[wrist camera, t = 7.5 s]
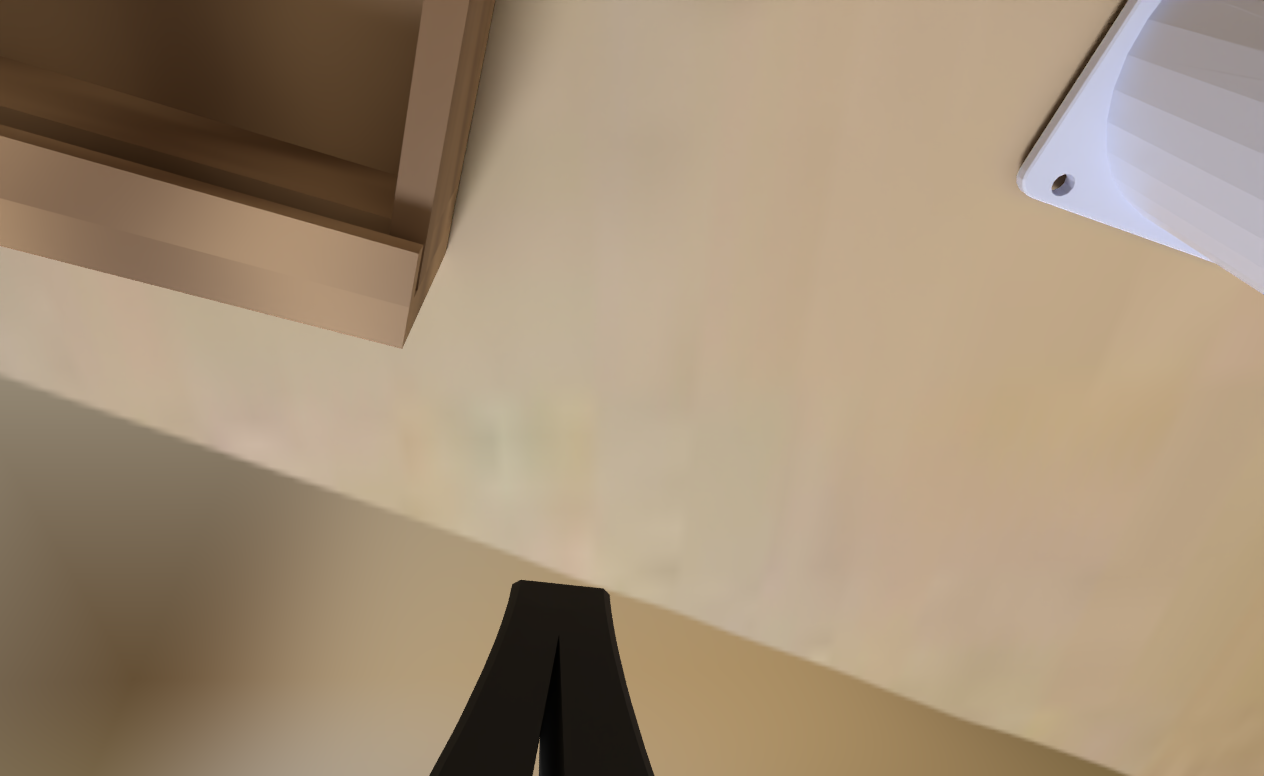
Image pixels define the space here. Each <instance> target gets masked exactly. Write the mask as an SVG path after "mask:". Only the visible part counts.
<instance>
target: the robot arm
mask: <svg viewBox="0 0 1264 776" xmlns="http://www.w3.org/2000/svg"><path fill="white" fill-rule="evenodd" d="M1064 174H1066V176H1067V177H1066V180H1065V182H1064V184H1063V185H1062V186H1061V187H1059V188H1057V189H1055V190H1052V189H1051V187H1052V185H1053V182H1054V181H1055V180H1056V179H1057V178H1058V177H1059V176H1062V175H1064ZM1017 185H1018V187H1019V189H1020V190H1021V191H1022V192H1024V193H1025V194H1026V195H1028V196H1029V197H1031V198H1033V199H1036V200H1039V201H1042V202H1045V203H1048V204H1050V205H1053V206H1056V207H1059V208H1062V209H1064V210H1067V211H1070V212H1073V213H1076V214H1078V215H1081V216H1084V217H1087V218H1090V219H1093V220H1095V221H1098V222H1101V223H1104V224H1107V225H1109V226H1112V227H1115V228H1118V229H1121V230H1123V231H1126V232H1129V233H1132V234H1135V235H1138V236H1140V237H1143V238H1146V239H1149V240H1152V241H1154V242H1157V243H1160V244H1163V245H1166V246H1168V247H1171V248H1174V249H1177V250H1180V251H1183V252H1185V253H1188V254H1191V255H1194V256H1197V257H1199V258H1202V259H1205V260H1208V261H1211V262H1213V263H1216V264H1218V265H1219V266H1221V267H1222V268H1224V269H1225V270H1227V271H1228V272H1230V273H1231V274H1233V275H1234V276H1236V277H1237V278H1239V279H1240V280H1242V281H1244V282H1245V283H1247V284H1248V285H1250V286H1251V287H1253V288H1254V289H1256V290H1257V291H1259V292H1260V293H1262V294H1263V295H1264V0H1128V1H1127V3H1126V5H1125V6H1124V8H1123V9H1122V11H1121V12H1120V14H1119V15H1118V17H1117V18H1116V20H1115V22H1114V23H1113V25H1112V26H1111V28H1110V29H1109V31H1108V32H1107V34H1106V36H1105V37H1104V39H1103V40H1102V42H1101V43H1100V45H1099V46H1098V48H1097V49H1096V51H1095V53H1094V54H1093V56H1092V57H1091V59H1090V60H1089V62H1088V63H1087V65H1086V67H1085V68H1084V70H1083V71H1082V73H1081V74H1080V76H1079V77H1078V79H1077V80H1076V82H1075V84H1074V85H1073V87H1072V88H1071V90H1070V91H1069V93H1068V94H1067V96H1066V97H1065V99H1064V101H1063V102H1062V104H1061V105H1060V107H1059V108H1058V110H1057V111H1056V113H1055V115H1054V116H1053V118H1052V119H1051V121H1050V122H1049V124H1048V125H1047V127H1046V128H1045V130H1044V132H1043V133H1042V135H1041V136H1040V138H1039V139H1038V141H1037V142H1036V144H1035V146H1034V147H1033V149H1032V150H1031V152H1030V153H1029V155H1028V156H1027V158H1026V159H1025V161H1024V163H1023V164H1022V166H1021V167H1020V169H1019V172H1018V174H1017ZM539 739H540V751H539V776H654V773H653V771H652V767H651V765H650V761H649V758H648V755H647V753H646V749H645V746H644V743H643V740H642V736H641V733H640V730H639V726H638V723H637V720H636V716H635V713H634V710H633V706H632V703H631V699H630V696H629V692H628V688H627V685H626V681H625V677H624V672H623V668H622V664H621V660H620V656H619V651H618V646H617V642H616V637H615V631H614V626H613V619H612V613H611V605H610V595H609V594H608V593H607V592H606V591H605V590H604V589H602V588H593V587H583V586H574V585H563V584H555V583H546V582H536V581H526V580H520V581H518V582H516V583H514V584H512V588H511V592H510V597H509V601H508V605H507V608H506V611H505V614H504V617H503V620H502V624H501V626H500V629H499V632H498V634H497V637H496V640H495V642H494V645H493V647H492V649H491V652H490V654H489V657H488V659H487V661H486V664H485V666H484V669H483V671H482V673H481V675H480V677H479V679H478V681H477V684H476V686H475V688H474V690H473V692H472V694H471V696H470V698H469V701H468V703H467V705H466V707H465V709H464V711H463V713H462V715H461V717H460V719H459V722H458V723H457V725H456V727H455V729H454V731H453V733H452V735H451V737H450V739H449V740H448V742H447V744H446V746H445V748H444V750H443V751H442V753H441V755H440V757H439V759H438V761H437V763H436V764H435V766H434V768H433V770H432V772H431V773H430V776H532V775H533V770H534V764H535V759H536V754H537V749H538V744H539Z"/></svg>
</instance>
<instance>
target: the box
mask: <svg viewBox="0 0 1264 776" xmlns="http://www.w3.org/2000/svg"><path fill="white" fill-rule="evenodd" d="M494 5H495V0H0V246H3V247H7V248H11V249H14V250H18V251H22V252H26V253H30V254H34V255H38V256H42V257H46V258H50V259H54V260H57V261H61V262H65V263H69V264H73V265H77V266H81V267H85V268H89V269H93V270H97V271H100V272H104V273H108V274H112V275H116V276H120V277H124V278H128V279H132V280H136V281H140V282H143V283H147V284H151V285H155V286H159V287H163V288H167V289H171V290H175V291H179V292H183V293H186V294H190V295H194V296H198V297H202V298H206V299H210V300H214V301H218V302H222V303H226V304H229V305H233V306H237V307H241V308H245V309H249V310H253V311H257V312H261V313H265V314H269V315H272V316H276V317H280V318H284V319H288V320H292V321H296V322H300V323H304V324H308V325H312V326H315V327H319V328H323V329H327V330H331V331H335V332H339V333H343V334H347V335H351V336H355V337H358V338H362V339H366V340H370V341H374V342H378V343H382V344H386V345H390V346H394V347H398V348H401V349H402V348H403V345H404V343H405V341H406V339H407V337H408V335H409V332H410V330H411V328H412V326H413V324H414V321H415V319H416V317H417V315H418V313H419V310H420V308H421V306H422V304H423V302H424V299H425V297H426V295H427V293H428V291H429V288H430V286H431V284H432V282H433V280H434V277H435V275H436V273H437V271H438V269H439V267H440V264H441V262H442V260H443V258H444V256H445V253H446V248H447V243H448V238H449V232H450V227H451V222H452V217H453V212H454V207H455V202H456V197H457V192H458V187H459V182H460V177H461V172H462V167H463V162H464V157H465V151H466V146H467V141H468V136H469V131H470V126H471V121H472V116H473V111H474V106H475V101H476V96H477V91H478V86H479V81H480V76H481V70H482V65H483V60H484V55H485V50H486V45H487V40H488V35H489V30H490V25H491V20H492V15H493V10H494Z"/></svg>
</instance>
